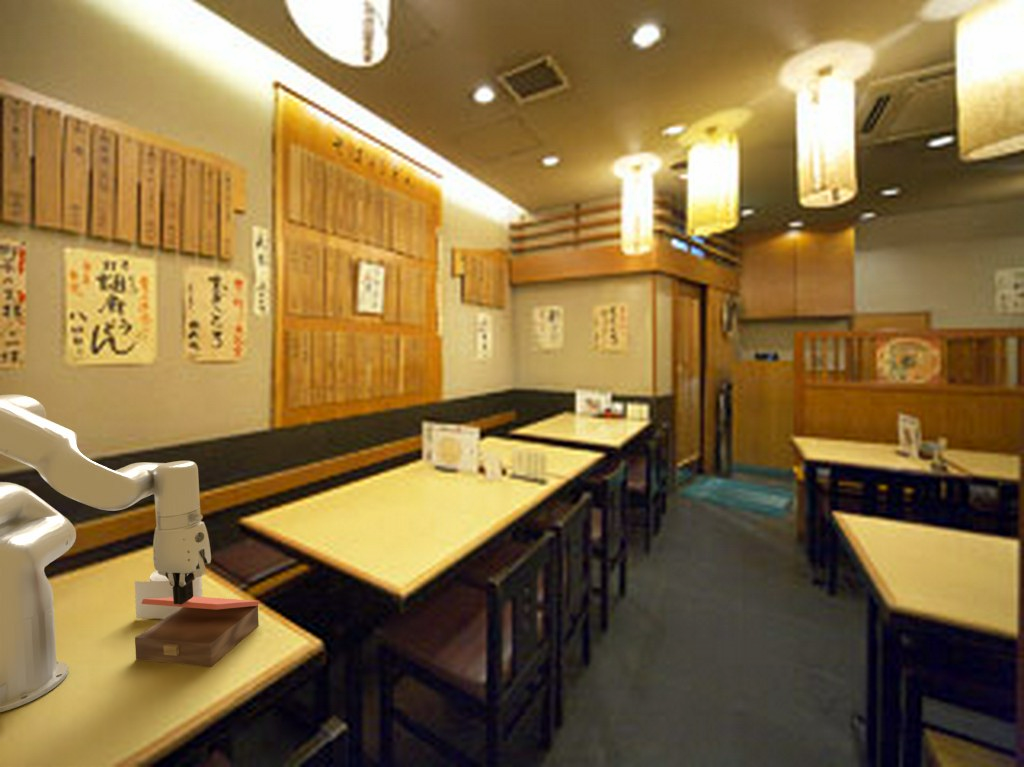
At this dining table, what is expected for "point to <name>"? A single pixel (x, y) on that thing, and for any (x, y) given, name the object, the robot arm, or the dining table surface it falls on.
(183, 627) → the walnut box
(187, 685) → the dining table surface
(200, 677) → the dining table surface
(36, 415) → the robot arm
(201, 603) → the lid
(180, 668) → the dining table surface
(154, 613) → the toilet tissue
